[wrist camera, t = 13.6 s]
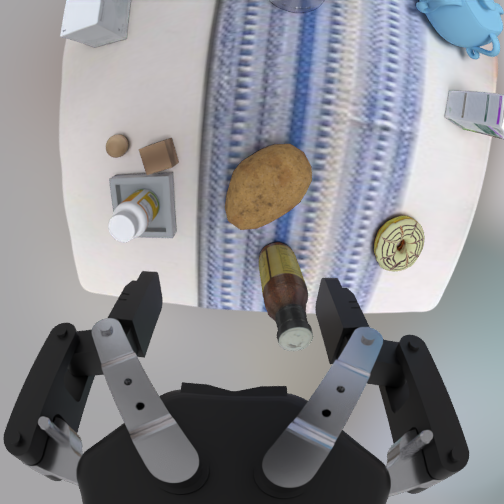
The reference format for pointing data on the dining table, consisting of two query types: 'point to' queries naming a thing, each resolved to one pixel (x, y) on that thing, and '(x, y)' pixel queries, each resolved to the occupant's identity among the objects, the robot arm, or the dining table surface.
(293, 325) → the sauce bottle
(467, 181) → the dining table surface
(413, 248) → the decorated donut
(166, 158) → the walnut block
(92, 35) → the skincare box
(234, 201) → the potato
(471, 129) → the syrup box
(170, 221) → the tray
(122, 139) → the cork ball
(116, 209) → the supplement bottle
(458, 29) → the decorative pot
